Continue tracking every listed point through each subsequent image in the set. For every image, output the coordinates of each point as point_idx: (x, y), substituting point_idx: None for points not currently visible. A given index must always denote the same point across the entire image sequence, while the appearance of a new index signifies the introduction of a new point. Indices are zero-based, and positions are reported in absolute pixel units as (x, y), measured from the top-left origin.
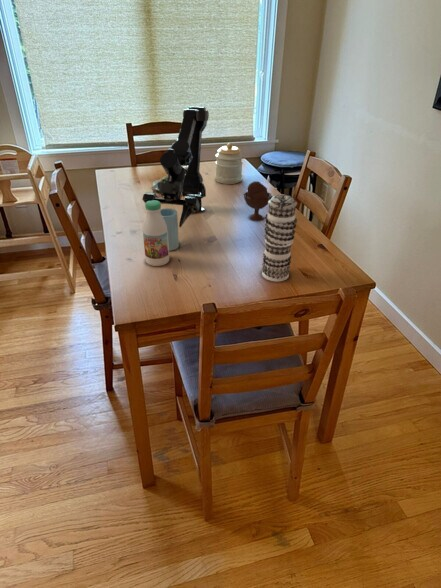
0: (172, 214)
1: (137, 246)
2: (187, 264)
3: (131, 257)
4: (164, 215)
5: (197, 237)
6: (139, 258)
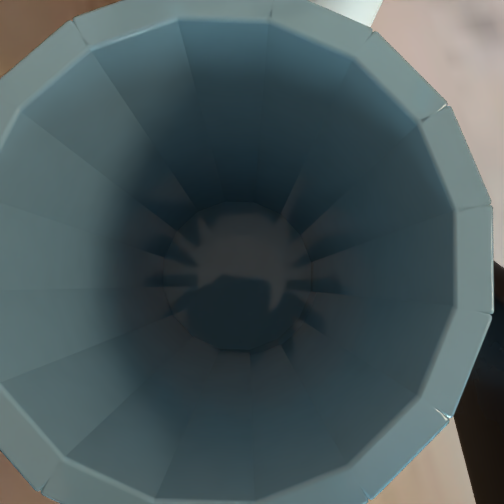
0: (141, 428)
1: (494, 235)
2: (39, 7)
3: (481, 55)
4: (313, 410)
5: (18, 479)
6: (416, 48)
